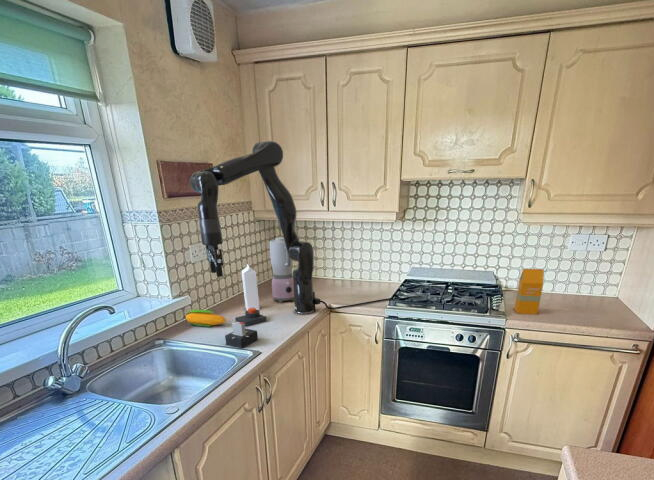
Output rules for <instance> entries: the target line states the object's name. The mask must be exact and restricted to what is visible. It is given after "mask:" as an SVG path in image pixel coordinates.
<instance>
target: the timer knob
mask: <svg viewBox="0 0 654 480" xmlns="http://www.w3.org/2000/svg"><path fill="white" fill-rule="evenodd" d="M245 329H246V327H245V324H244V322H236V321H233V322H232V332H234V335H238V336H245V335H246V333H245Z"/></svg>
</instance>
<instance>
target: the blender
mask: <svg viewBox="0 0 654 480" xmlns="http://www.w3.org/2000/svg"><path fill="white" fill-rule="evenodd" d="M269 257H270V264H271V268H272V272H273V273H272V274H273V277H272V279H271V290H272V299H273V300H274V301H278V303H280V304H283V301H291V302H294V286H293V264H294V263H293V261H294V260H292V259H291V258H290V257H289V255H288V252H287V249H286V245H285V241H284V237H280V236H279V237H275V238H274V239H271V240H270V241H269Z"/></svg>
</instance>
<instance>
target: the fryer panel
mask: <svg viewBox="0 0 654 480" xmlns="http://www.w3.org/2000/svg"><path fill="white" fill-rule="evenodd" d="M245 333H246V335H245V336H238V335H234V332H233V331H232V332H229V333H227V334H225V335H224V339H225V345H226V346H230V347H234V348H238V349H243V348H246V347H247V346H249V345H251V344H253V343H255V342H256V341H258V340H259V336H258V330H256V329H249V328H245Z"/></svg>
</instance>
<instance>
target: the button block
mask: <svg viewBox="0 0 654 480" xmlns="http://www.w3.org/2000/svg"><path fill="white" fill-rule="evenodd" d="M260 313H261V311H260V310H256V313H248V311H247V310H245V312H244V314H245V315H240V316H236V317H235V318H234V320H235V321H236V322H244V324H245V328H247V327H249V326H253V325H254V326H255V325H258V324H262V323H265V322H267V316H265V315H263V314H260ZM235 321H234V322H235Z"/></svg>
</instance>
